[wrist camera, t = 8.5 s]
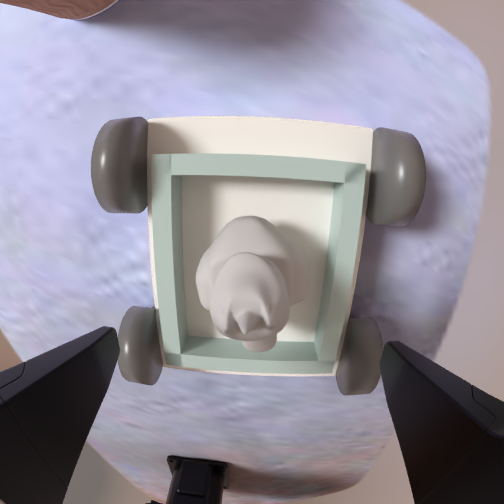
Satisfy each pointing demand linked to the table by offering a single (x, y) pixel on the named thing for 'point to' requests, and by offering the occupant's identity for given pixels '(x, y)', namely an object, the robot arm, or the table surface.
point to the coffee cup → (65, 7)
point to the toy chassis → (265, 206)
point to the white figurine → (252, 281)
